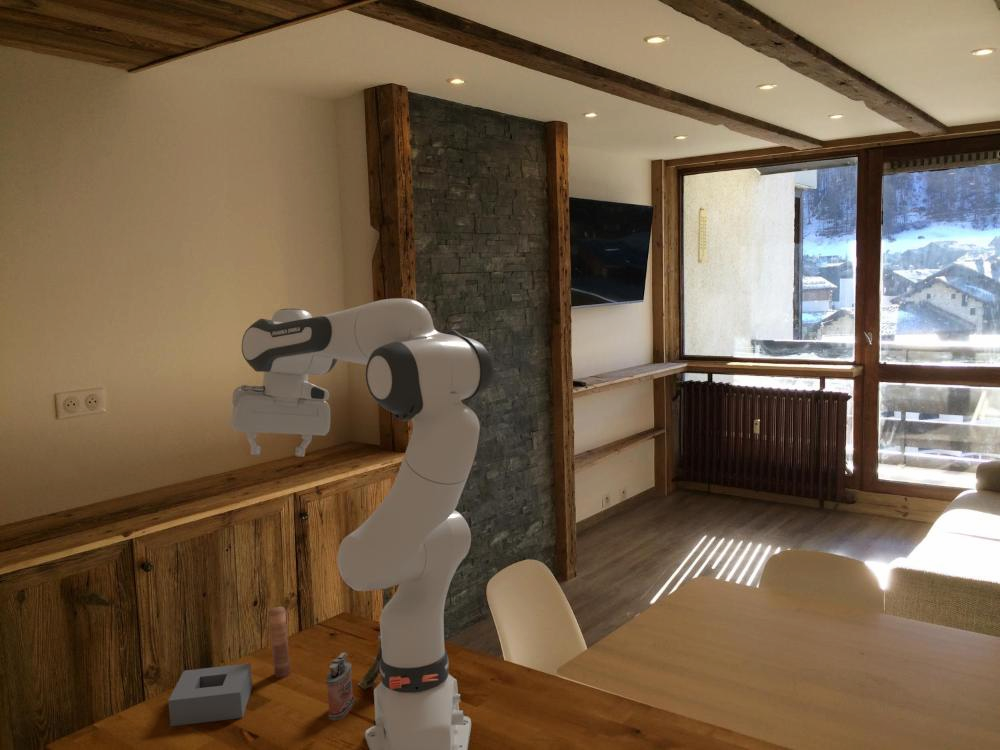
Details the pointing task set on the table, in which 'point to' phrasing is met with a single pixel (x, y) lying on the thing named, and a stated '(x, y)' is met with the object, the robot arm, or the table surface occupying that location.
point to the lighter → (339, 688)
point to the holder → (210, 694)
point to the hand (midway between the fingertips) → (277, 455)
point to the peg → (279, 642)
